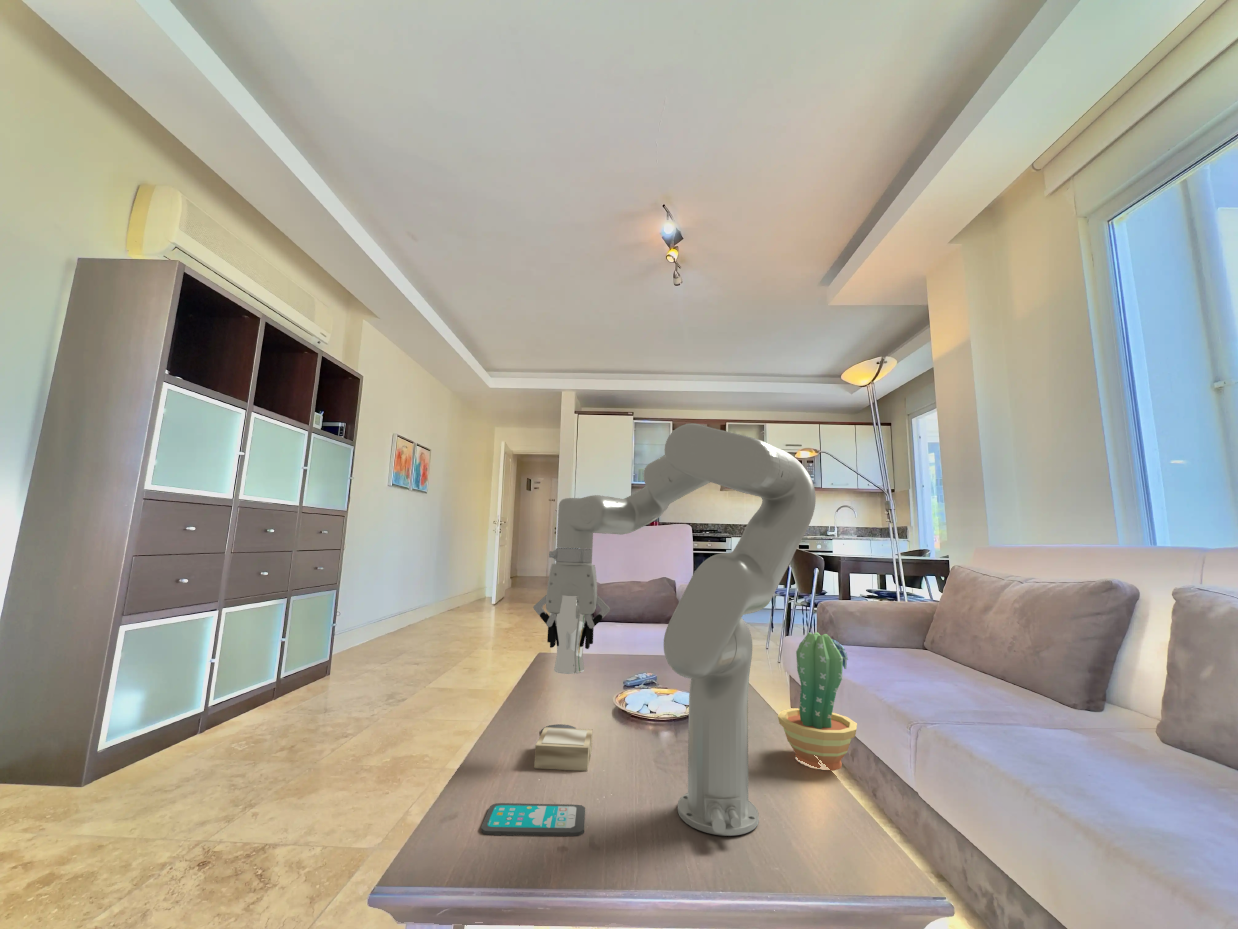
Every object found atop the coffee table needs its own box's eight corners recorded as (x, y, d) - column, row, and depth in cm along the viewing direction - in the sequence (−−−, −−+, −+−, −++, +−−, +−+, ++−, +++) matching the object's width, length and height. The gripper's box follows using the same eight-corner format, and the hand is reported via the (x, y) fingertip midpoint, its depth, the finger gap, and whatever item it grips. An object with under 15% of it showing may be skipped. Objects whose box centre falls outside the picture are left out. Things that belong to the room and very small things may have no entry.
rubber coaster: (575, 740, 111) (575, 737, 111) (538, 738, 112) (538, 736, 112) (579, 727, 119) (579, 725, 119) (544, 725, 120) (544, 723, 120)
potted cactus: (869, 782, 96) (863, 642, 100) (782, 772, 99) (780, 636, 103) (849, 751, 111) (845, 630, 114) (774, 743, 114) (773, 625, 118)
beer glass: (588, 667, 107) (591, 593, 110) (583, 675, 100) (586, 596, 103) (555, 665, 108) (559, 592, 110) (548, 673, 101) (551, 595, 103)
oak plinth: (587, 770, 96) (588, 747, 97) (534, 768, 97) (535, 744, 97) (591, 750, 106) (592, 728, 107) (543, 747, 107) (544, 726, 107)
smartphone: (583, 832, 75) (479, 830, 74) (583, 839, 74) (478, 837, 74) (585, 803, 83) (491, 801, 83) (585, 809, 83) (491, 808, 82)
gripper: (529, 556, 104) (523, 649, 101) (614, 559, 104) (611, 652, 101) (536, 556, 112) (531, 642, 109) (616, 558, 111) (613, 645, 108)
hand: (570, 646), depth 105 cm, fingers closed on beer glass, 6 cm apart
